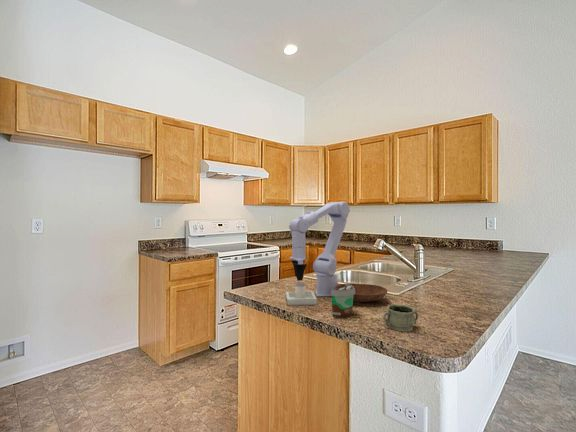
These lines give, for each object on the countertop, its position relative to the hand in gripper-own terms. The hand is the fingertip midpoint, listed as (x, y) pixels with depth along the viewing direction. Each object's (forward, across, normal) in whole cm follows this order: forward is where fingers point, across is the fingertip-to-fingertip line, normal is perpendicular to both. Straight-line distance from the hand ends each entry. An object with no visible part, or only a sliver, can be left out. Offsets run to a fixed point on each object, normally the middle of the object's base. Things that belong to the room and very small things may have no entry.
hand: (298, 278), depth 130 cm
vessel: (+10, +33, +30) cm, 46 cm away
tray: (+9, +1, +1) cm, 10 cm away
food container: (+10, +19, +16) cm, 27 cm away
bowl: (+10, +2, +27) cm, 28 cm away
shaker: (+9, +1, 0) cm, 9 cm away
